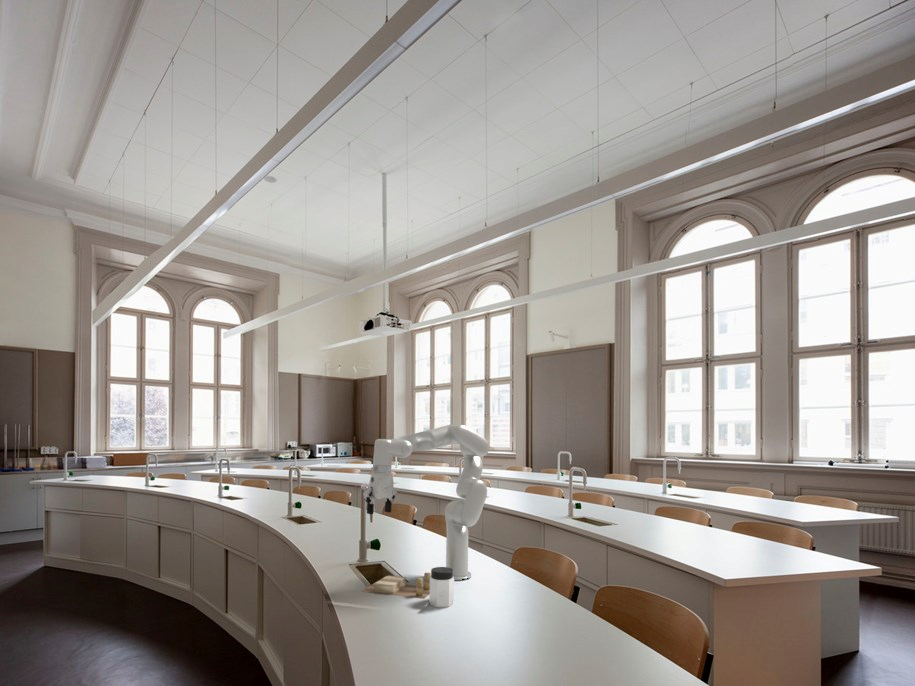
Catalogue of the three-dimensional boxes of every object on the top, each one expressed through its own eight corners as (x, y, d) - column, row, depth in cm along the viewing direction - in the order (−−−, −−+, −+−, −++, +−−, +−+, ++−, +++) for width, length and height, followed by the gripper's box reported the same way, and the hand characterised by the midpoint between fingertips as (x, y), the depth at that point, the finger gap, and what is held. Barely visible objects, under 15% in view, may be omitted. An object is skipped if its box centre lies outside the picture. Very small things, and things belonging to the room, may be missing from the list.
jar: (430, 608, 197) (431, 572, 199) (428, 600, 205) (429, 567, 207) (455, 607, 198) (455, 572, 200) (452, 600, 206) (452, 566, 208)
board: (377, 583, 225) (378, 565, 226) (436, 590, 217) (437, 572, 218) (361, 593, 212) (361, 574, 213) (423, 601, 204) (424, 581, 205)
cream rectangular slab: (387, 583, 223) (387, 575, 223) (405, 585, 220) (405, 577, 221) (374, 591, 211) (374, 583, 212) (392, 593, 209) (393, 585, 209)
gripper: (372, 470, 216) (368, 516, 213) (403, 470, 229) (400, 512, 226) (359, 469, 221) (356, 513, 218) (391, 468, 234) (388, 510, 231)
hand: (379, 512), depth 222 cm, fingers open, 9 cm apart
